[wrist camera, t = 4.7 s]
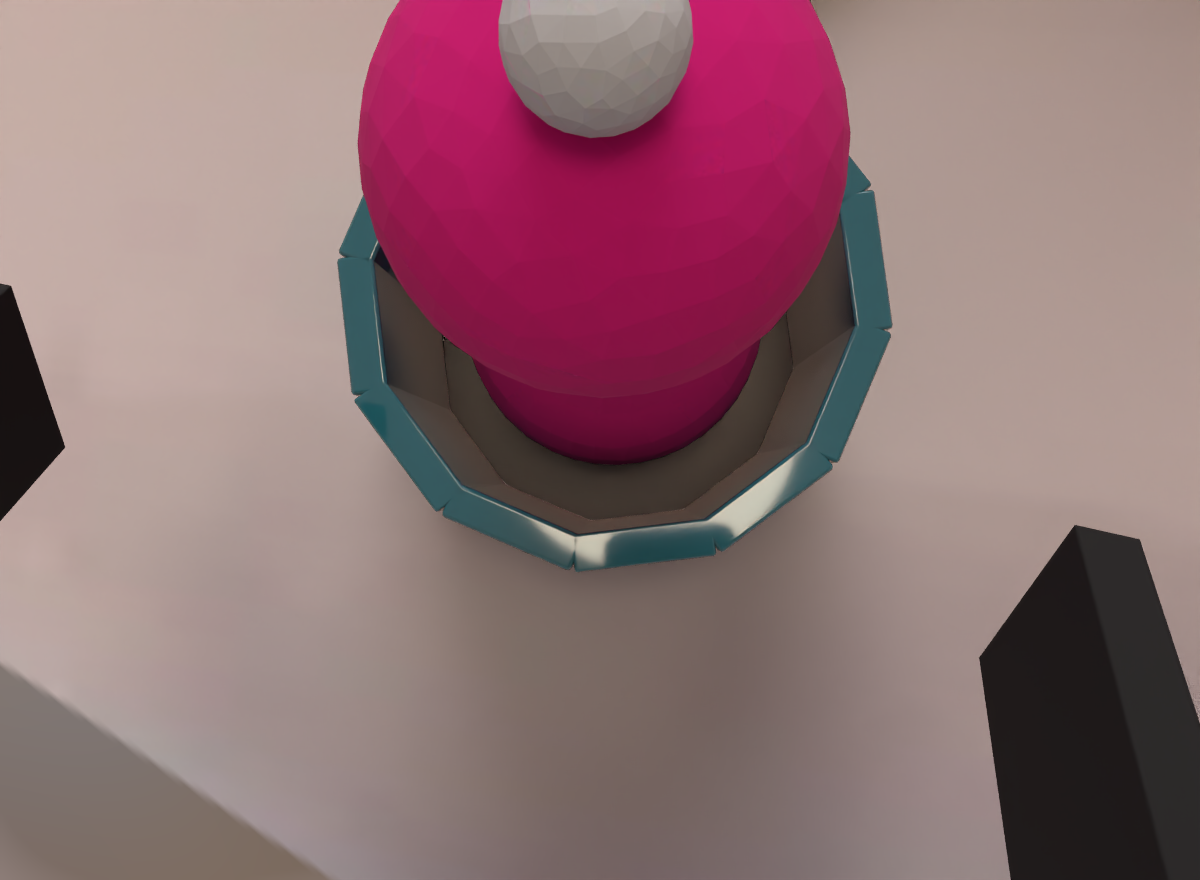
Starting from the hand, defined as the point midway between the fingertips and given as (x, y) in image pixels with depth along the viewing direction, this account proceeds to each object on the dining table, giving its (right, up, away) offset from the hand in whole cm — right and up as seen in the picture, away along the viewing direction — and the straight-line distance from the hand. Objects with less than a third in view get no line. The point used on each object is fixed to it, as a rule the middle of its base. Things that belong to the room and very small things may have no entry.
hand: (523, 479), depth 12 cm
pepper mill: (+1, +3, +16) cm, 16 cm away
